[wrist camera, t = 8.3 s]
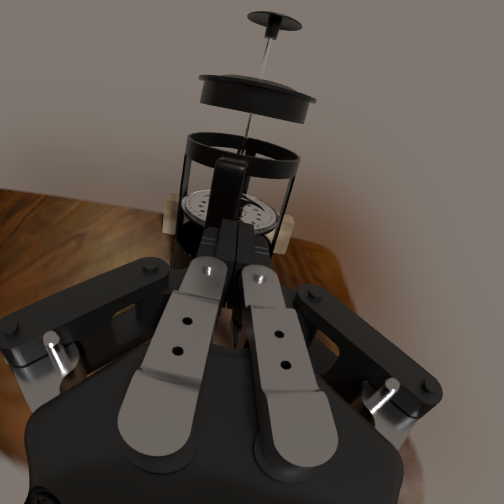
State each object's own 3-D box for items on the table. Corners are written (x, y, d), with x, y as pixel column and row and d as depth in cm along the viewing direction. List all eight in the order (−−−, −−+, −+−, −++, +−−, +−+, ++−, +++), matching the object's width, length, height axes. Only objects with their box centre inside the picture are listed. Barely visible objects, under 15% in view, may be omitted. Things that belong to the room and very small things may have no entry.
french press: (188, 232, 31) (227, 25, 19) (269, 251, 31) (325, 45, 20) (148, 298, 21) (193, -20, 9) (263, 327, 21) (357, 8, 10)
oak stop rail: (162, 232, 30) (164, 199, 28) (166, 225, 32) (169, 193, 30) (284, 254, 32) (294, 223, 30) (282, 245, 33) (291, 215, 31)
